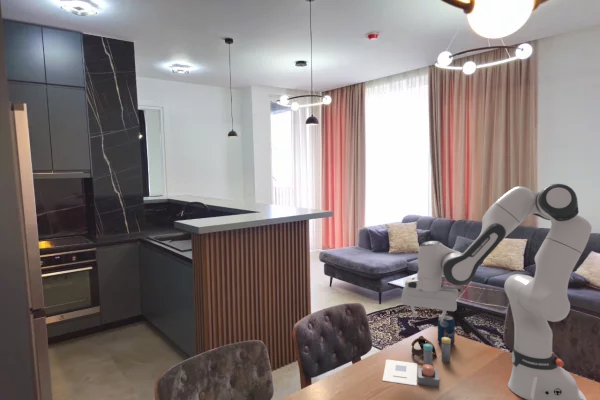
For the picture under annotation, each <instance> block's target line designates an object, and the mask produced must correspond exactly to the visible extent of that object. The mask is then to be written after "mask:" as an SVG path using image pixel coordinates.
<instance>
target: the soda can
mask: <svg viewBox="0 0 600 400" xmlns="http://www.w3.org/2000/svg"><path fill="white" fill-rule="evenodd" d="M455 322H456V321H455V319H454V317H453V316H452V315H449V314H445V316H444V317H443V321H439V318H438V319H437V342H438V343H439V345H441V346H442V337H448V338H450V339H451V343H450V347H452V346H453V345H454V344H455V341H456V339H455V337H456V336H455V331H456V330H455V328H456V327H455V326H456V323H455Z"/></svg>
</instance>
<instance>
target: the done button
mask: <svg viewBox="0 0 600 400" xmlns="http://www.w3.org/2000/svg"><path fill="white" fill-rule="evenodd" d="M422 368H423V376H426V377H433V378H434V370H435V367H434V366H433V364H432V365H429V364H425V365H424V364H422Z"/></svg>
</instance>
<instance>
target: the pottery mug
mask: <svg viewBox="0 0 600 400" xmlns="http://www.w3.org/2000/svg"><path fill="white" fill-rule="evenodd" d="M417 343H418V345H419V348H420V349H419V348H415V345H416V344H417ZM424 344H431V345H432V346H433V350H432V354H434V356H435V358H437V357H438V355H437V351H436V347H435V346H434V343H432V342H431V341H430V340H429V339H427V338H425V337H424V336H423V335H420V336H418V338H416V339H414V340H413V341H412V343H411V353H412V356H418V357H420V356H421V357H422V356H424V349H423V345H424Z"/></svg>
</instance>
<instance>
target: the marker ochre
mask: <svg viewBox="0 0 600 400" xmlns="http://www.w3.org/2000/svg"><path fill="white" fill-rule="evenodd" d="M450 343H451V339H450V338H448V337H442V345H441V361H442V362H444V363H450V362H451V346H450Z"/></svg>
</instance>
